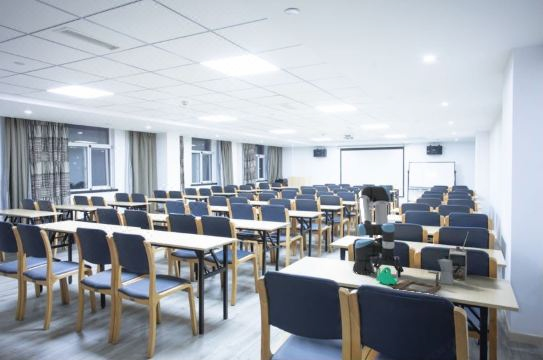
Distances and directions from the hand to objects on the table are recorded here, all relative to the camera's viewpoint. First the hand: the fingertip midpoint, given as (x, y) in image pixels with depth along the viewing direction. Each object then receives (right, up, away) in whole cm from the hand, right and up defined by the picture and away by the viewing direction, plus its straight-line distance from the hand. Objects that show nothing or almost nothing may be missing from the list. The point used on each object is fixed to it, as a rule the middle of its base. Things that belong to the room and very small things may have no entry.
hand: (388, 280), depth 237 cm
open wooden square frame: (+14, -2, -11) cm, 18 cm away
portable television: (+53, -1, +14) cm, 55 cm away
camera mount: (0, -2, 0) cm, 2 cm away
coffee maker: (+39, -2, 0) cm, 39 cm away
